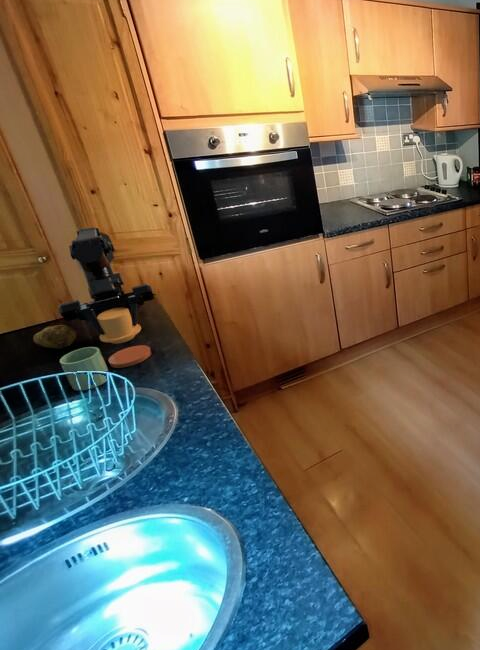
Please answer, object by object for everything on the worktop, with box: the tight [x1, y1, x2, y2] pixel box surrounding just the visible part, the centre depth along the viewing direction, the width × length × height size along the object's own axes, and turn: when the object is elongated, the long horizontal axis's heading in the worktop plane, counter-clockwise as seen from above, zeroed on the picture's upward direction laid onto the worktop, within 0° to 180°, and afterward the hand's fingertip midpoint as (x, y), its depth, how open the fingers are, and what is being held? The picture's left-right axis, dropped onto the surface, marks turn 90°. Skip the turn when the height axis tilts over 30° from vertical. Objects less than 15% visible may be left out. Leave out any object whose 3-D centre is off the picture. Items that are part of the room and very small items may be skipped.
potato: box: [32, 324, 77, 350], centre depth 126 cm, size 8×13×8 cm, turn 50°
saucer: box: [107, 344, 152, 369], centre depth 123 cm, size 9×9×1 cm
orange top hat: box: [96, 308, 142, 345], centre depth 119 cm, size 9×9×8 cm
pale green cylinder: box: [59, 346, 110, 392], centre depth 113 cm, size 7×7×8 cm
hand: (119, 329), depth 119 cm, fingers closed on orange top hat, 6 cm apart
